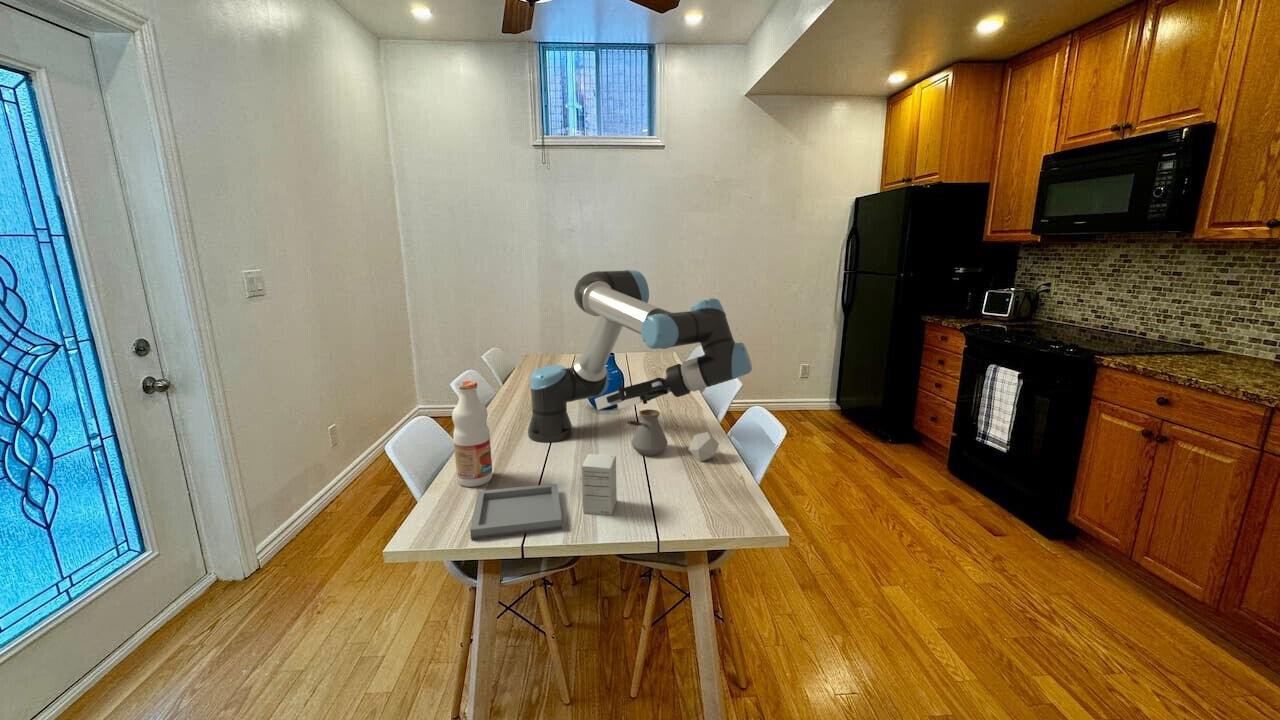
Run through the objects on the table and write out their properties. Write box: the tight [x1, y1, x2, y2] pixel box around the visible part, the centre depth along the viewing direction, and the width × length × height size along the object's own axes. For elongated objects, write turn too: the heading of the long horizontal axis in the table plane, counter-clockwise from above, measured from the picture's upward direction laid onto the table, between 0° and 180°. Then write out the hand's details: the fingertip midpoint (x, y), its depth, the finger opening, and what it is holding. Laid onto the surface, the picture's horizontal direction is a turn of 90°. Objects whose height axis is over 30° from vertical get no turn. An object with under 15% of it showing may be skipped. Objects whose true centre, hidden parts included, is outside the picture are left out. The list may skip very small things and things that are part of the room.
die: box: [688, 431, 720, 463], centre depth 152 cm, size 8×9×10 cm
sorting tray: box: [469, 483, 563, 541], centre depth 121 cm, size 18×20×2 cm
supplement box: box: [581, 453, 618, 516], centre depth 123 cm, size 7×7×13 cm
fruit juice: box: [451, 380, 493, 488], centre depth 135 cm, size 9×9×28 cm
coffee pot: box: [623, 408, 668, 457], centre depth 152 cm, size 21×12×15 cm, turn 154°
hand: (607, 404), depth 125 cm, fingers open, 13 cm apart
